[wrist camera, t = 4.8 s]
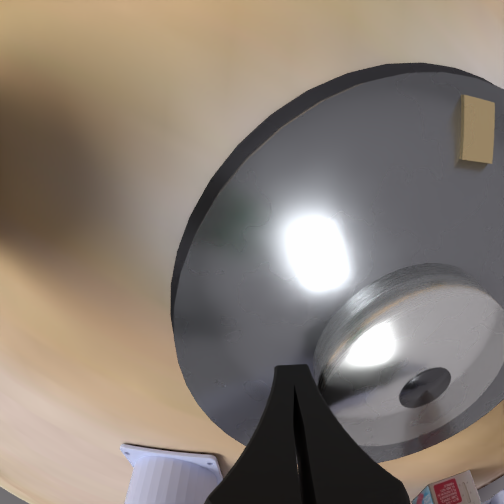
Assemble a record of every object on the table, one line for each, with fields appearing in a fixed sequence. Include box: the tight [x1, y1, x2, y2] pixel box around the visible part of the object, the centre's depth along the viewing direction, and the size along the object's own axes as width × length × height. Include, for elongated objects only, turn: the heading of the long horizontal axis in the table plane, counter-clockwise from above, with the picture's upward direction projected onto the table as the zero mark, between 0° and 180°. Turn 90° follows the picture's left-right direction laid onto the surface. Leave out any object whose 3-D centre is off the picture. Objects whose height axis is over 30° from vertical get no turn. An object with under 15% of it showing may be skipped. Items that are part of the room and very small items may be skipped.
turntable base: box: [171, 63, 494, 333], centre depth 14 cm, size 25×25×1 cm
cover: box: [313, 263, 504, 446], centre depth 12 cm, size 9×9×3 cm
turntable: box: [174, 72, 504, 464], centre depth 13 cm, size 24×24×1 cm
